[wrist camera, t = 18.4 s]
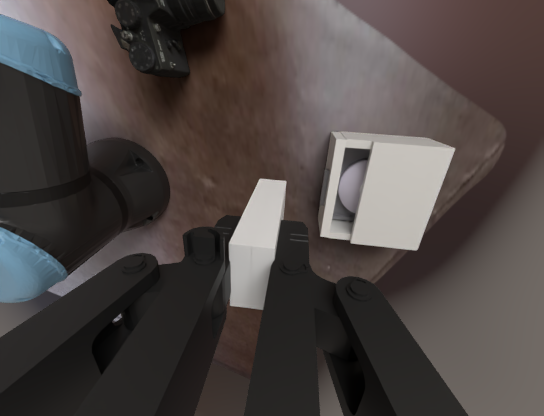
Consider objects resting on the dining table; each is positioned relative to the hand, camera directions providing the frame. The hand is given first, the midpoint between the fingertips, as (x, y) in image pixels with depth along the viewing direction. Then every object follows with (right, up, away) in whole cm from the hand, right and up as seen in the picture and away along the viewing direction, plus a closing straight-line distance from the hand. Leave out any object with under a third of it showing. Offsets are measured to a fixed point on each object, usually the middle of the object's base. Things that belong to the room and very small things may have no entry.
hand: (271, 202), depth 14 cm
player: (+15, +4, +24) cm, 28 cm away
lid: (+14, +3, +22) cm, 26 cm away
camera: (-11, +24, +17) cm, 32 cm away
